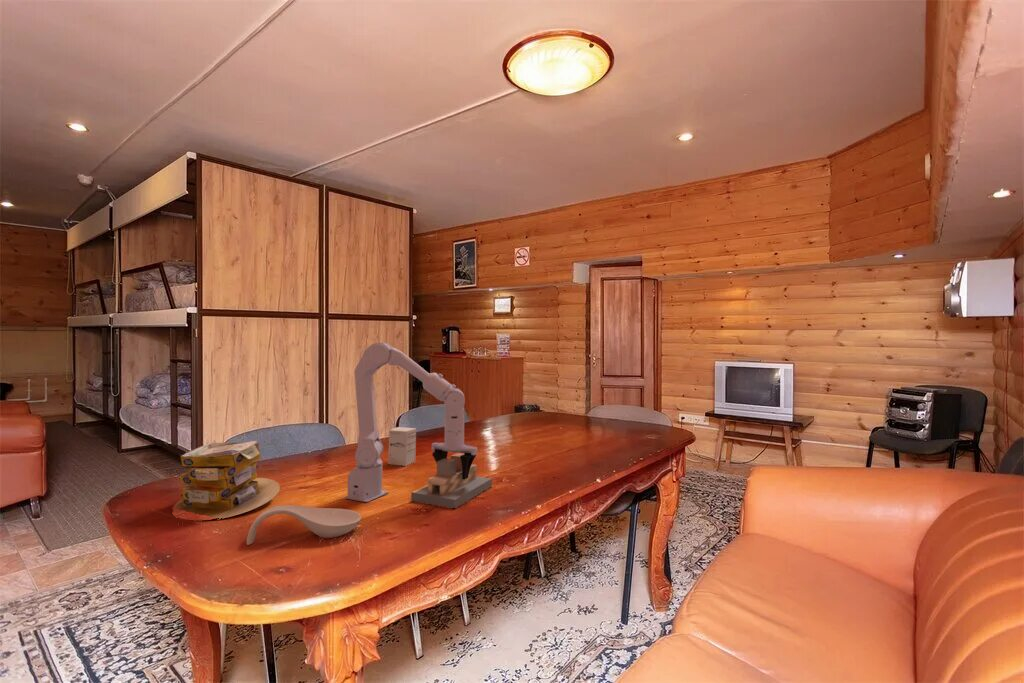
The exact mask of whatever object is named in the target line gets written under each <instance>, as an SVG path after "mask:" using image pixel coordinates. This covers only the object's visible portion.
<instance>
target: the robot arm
mask: <svg viewBox="0 0 1024 683" xmlns="http://www.w3.org/2000/svg"><path fill="white" fill-rule="evenodd" d="M387 364H388V366H396V367H400V368H402V369H404V371H406V372H407V373H409V374H410V375H412V376H413V377H415V378H416V379H418V380H419V381H421V382H422V387H423V388H422V389H424V390H425V391H426V392H427V393H429V394H430V395H431V396H433V397H434V398H435V399H437V400H438V401H441V402H443V404H444V406H445V415H444V442H433V443H431V451H433V452H432V453H431V454H432V457H433V459H434V460H435V463H436V464H437V461H439V460H442V459H444V458H445V459H448V453H449V452H450V453H455V454H457V453H462V454H464V455H461V456H460V458H461V463H462V479H467V478H468V475H469V471H470V467H471V465H473V462H474V460H475V458H476V457H477V455H478V453H479V452H478V451H479V450H478V447H477V446H473V445H472V446H471V445H468V444H465V414H464V413H465V408H464V406H465V403H466V400H465V394H464V393H463V391H462V390H461V389H460V388H459V387H457V388H456V386H457V385H455V384H453V383H452V384H451V383H450V382H449V381H448V380H446V379H445V378H444V375H443V374H442V373H437V372H430V373H429V372H428V371H427V370H425V369H424V367H421V365H419V364H418V363H417V362H416V361H414V360H413V359H412V358H411V357H409V356H408V355H407V354H406V353H404V352H403V351H401V350H400V349H398V348H396V347H393V346H392V345H391V344H389V343H388V342H373V343H372V344H371V345H369V346H368V347H367V348H366V349H365V350H363V353H362V355H361V357H360V360H359V361H358V363H357V364H356V367H355V368H354V382H355V393H356V394H355V395H356V410H357V421H358V438H357V446H356V450H355V453H354V457H355V461H356V463H355V467H354V468H353V469H352V470H350V471H349V472H348V476H347V495H345V497H344V498H345V499H347V500H353V501H358V502H364V503H369V502H371V501H374V500H375V499H378V498H380V497H382V496H384V495H387V494H389V491H388V490H383V460H382V459H381V457H380V456H382V454H383V452H384V445H383V443H382V441H381V438H380V433H379V431H378V426H377V425H378V424H377V413H376V404H375V403H376V400H375V399H376V398H375V391H374V390H375V389H374V388H375V387H374V375H375V374H376V373H377V372H378V371H379V370H380V368H382V367H383V366H385V365H387Z"/></svg>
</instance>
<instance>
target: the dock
mask: <svg viewBox="0 0 1024 683" xmlns="http://www.w3.org/2000/svg"><path fill="white" fill-rule="evenodd" d="M491 486H493V478H489V477H483V476H477V478H476V479H474V480H472V481H470V482H468V483H466V484H464V485H463V486H461V487H459V488H457V489H455V490H453V491H451V492H449V493H448V494H446V495H444V496H442V495H440V490H438V491H436V492H434V493H432V494H430V493H428V484H426V485H423V486H421V487H419V488H417V489H414V491H411V493H410V494H411V497H410V498H411V499H410V500H411V502H412V501H415V502H414V503H418V502H422V503H421V504H423V503H427V504H426V505H429V504H432V505H431V506H435V505H439V506H438V507H440V506H445V507H444V508H446V507H449V508H448V509H452V508H456V509H458V508H459V507H461V506H462V505H464V504H465V502H466V503H468V502H470V501H471V500H472V499H474V498H476V497H477V496H479V495H480V493H481V494H482V493H483V491H484V492H485V490H486V491H488V490H489V489H491V488H492V487H491ZM490 487H491V488H490ZM488 488H489V489H488ZM478 494H479V495H478ZM475 496H476V497H475ZM470 499H471V500H470ZM460 505H461V506H460ZM458 506H459V507H458Z"/></svg>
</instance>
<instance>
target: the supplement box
mask: <svg viewBox="0 0 1024 683" xmlns="http://www.w3.org/2000/svg"><path fill="white" fill-rule="evenodd" d="M388 431H389V433H388V435H389V436H388V465H389V464H390V465H391V466H392V465H395V466H401V465H402V466H401V467H408V466H410V465H411V463H412V464H414V463H416V452H417V450H416V447H417V445H416V444H417V428H416V427H402V426H397V427H394V428H390V429H389V430H388ZM413 462H414V463H413ZM409 464H410V465H409ZM407 465H408V466H407Z"/></svg>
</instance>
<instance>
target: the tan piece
mask: <svg viewBox="0 0 1024 683" xmlns="http://www.w3.org/2000/svg"><path fill="white" fill-rule="evenodd" d="M477 466H478V464H472V465H471V467H470V471H469V475H468V478H467V479H462V471H461V470H456V474H455V475H453V476H451V477H443V476H437V474H435V475H433V476H431V477H429V478H428V480H427V482H428V484H427V485H428V493H430V494H432V493H434V492H436V491H438V490H440V495H442V496H444V495H446V494H448V493H449V492H451V491H453V490H455V489H457V488H459V487H461V486H463V485H464V484H466V483H468V482H470V481H472V480H474V479H476V478H477V477H478V474H477V470H478V469H477V468H478V467H477Z"/></svg>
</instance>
